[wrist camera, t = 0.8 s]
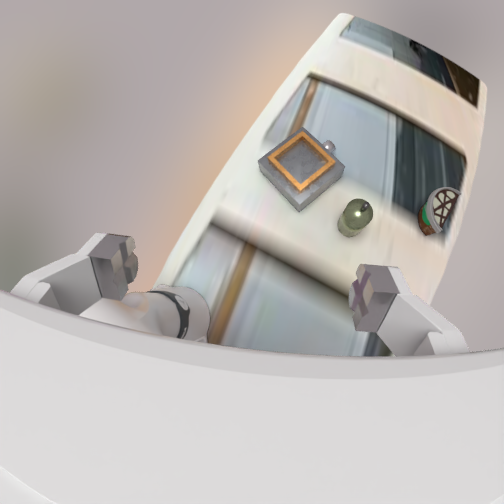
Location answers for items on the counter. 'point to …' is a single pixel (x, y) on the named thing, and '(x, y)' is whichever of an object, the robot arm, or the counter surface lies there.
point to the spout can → (355, 217)
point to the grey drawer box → (301, 168)
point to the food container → (437, 210)
